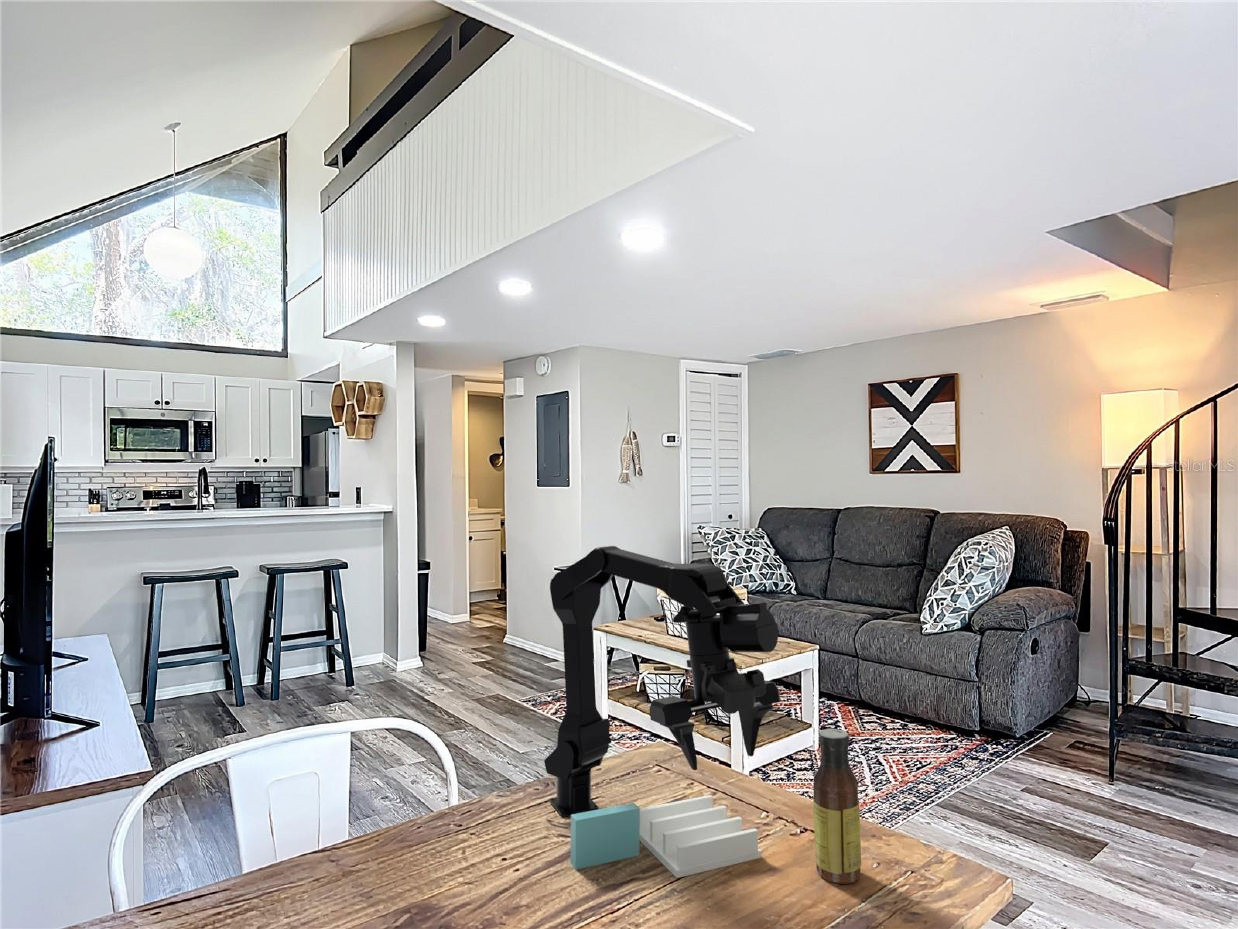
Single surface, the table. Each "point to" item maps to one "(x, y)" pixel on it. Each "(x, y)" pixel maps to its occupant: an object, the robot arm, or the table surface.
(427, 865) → the table surface
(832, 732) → the sauce bottle
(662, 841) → the dish rack
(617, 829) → the light blue block
